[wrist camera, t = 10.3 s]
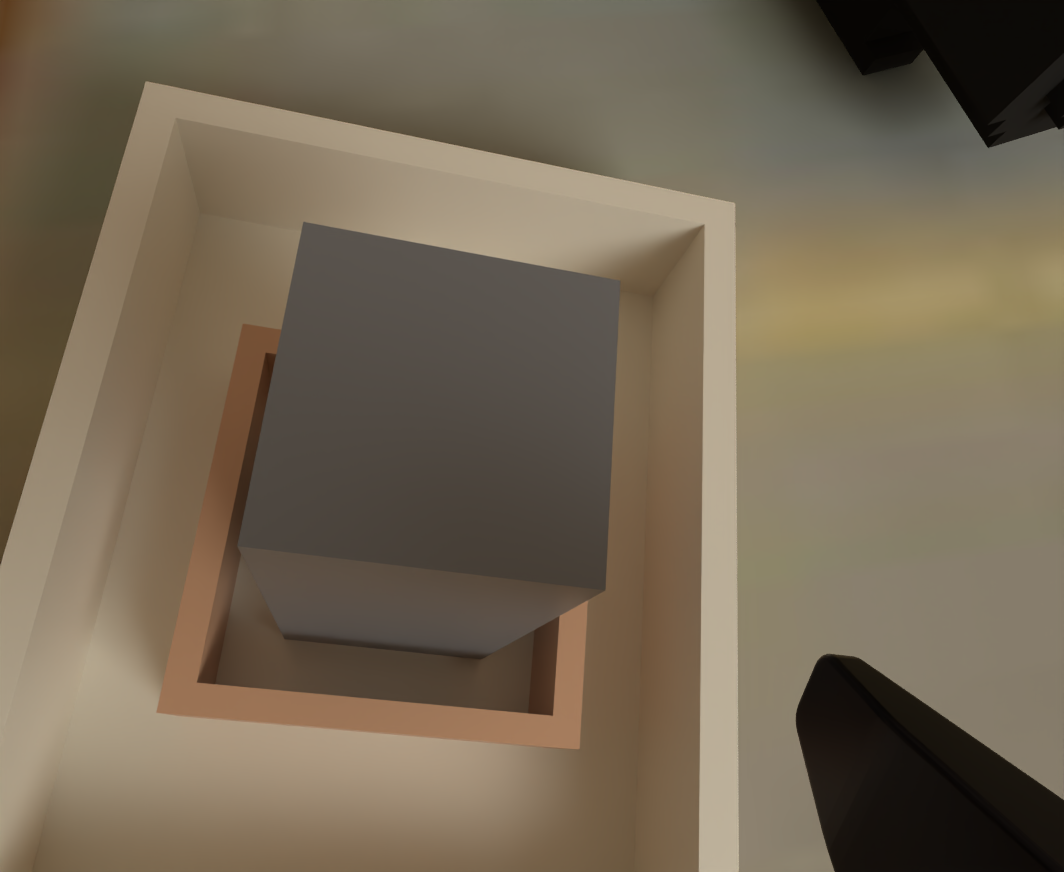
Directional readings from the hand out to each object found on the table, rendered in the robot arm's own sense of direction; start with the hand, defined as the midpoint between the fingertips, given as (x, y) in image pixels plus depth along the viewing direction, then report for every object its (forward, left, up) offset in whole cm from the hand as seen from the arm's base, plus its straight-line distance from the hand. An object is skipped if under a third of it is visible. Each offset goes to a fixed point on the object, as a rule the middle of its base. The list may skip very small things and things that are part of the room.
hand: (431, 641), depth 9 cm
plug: (+3, 0, -11) cm, 11 cm away
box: (+3, 0, -12) cm, 12 cm away
